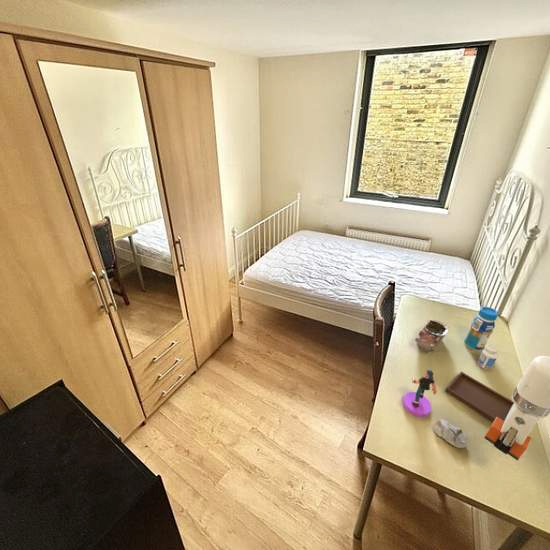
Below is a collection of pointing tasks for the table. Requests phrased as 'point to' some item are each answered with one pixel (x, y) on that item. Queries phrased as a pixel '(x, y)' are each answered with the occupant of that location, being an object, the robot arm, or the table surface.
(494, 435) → the orange rectangular block
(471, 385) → the tray
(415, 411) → the figurine
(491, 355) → the pill bottle
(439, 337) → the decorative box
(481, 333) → the blue lidded jar
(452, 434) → the stone
